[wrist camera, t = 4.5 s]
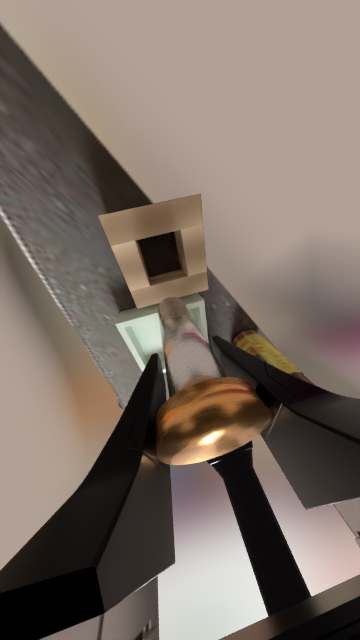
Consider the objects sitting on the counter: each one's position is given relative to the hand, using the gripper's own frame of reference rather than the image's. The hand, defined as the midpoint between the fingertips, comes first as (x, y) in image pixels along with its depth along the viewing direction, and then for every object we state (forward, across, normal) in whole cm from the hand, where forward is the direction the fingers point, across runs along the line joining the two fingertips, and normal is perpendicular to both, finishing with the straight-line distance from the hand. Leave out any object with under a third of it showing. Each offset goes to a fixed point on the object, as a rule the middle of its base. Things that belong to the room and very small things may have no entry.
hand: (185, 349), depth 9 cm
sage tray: (+13, +1, +7) cm, 15 cm away
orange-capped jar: (+6, 0, 0) cm, 6 cm away
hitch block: (+12, -1, -5) cm, 13 cm away
